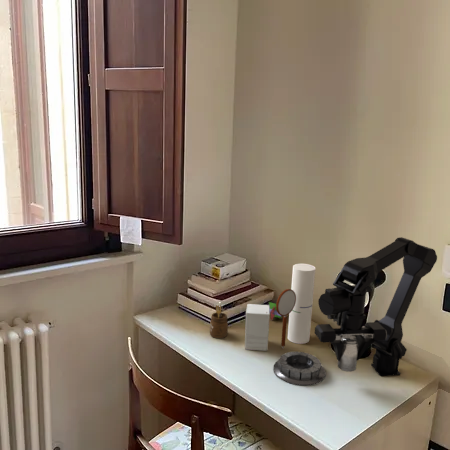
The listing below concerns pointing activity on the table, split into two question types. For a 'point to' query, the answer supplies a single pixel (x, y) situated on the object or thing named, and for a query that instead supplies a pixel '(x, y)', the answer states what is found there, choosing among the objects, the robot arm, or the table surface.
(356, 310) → the robot arm
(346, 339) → the cylinder
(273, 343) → the table surface
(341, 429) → the table surface
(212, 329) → the utensil holder
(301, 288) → the cylindrical container
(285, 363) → the ring collar
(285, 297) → the magnifying glass
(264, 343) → the supplement box
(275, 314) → the geometric puzzle
